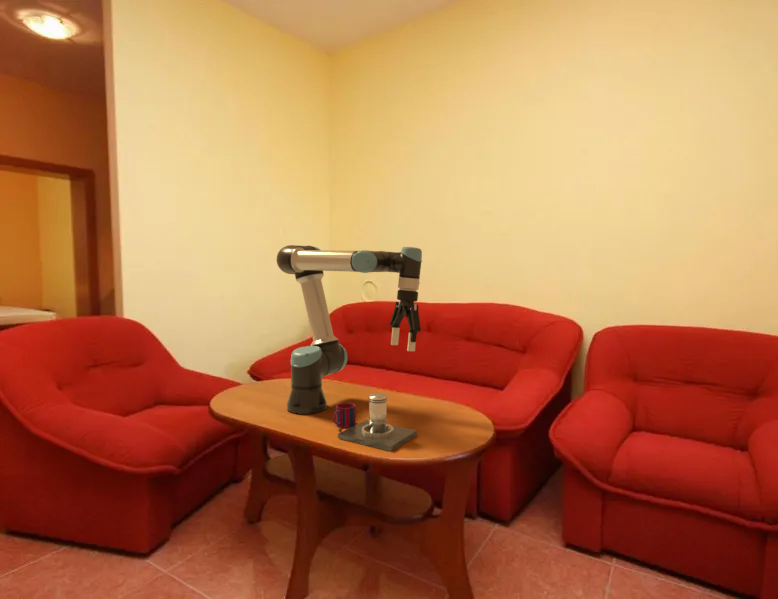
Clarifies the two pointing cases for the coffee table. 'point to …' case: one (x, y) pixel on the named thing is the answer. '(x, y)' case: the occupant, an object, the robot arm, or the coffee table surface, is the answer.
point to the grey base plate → (378, 436)
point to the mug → (345, 415)
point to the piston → (377, 413)
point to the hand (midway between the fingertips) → (402, 348)
